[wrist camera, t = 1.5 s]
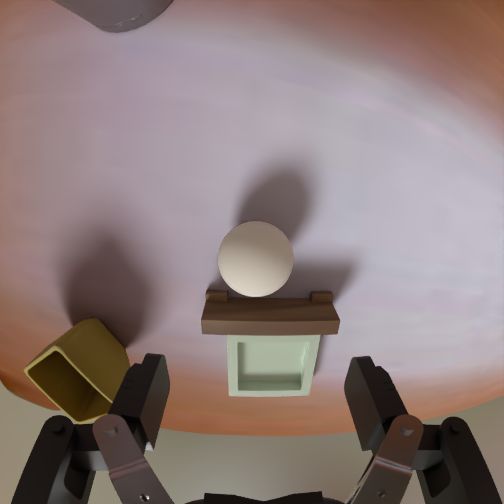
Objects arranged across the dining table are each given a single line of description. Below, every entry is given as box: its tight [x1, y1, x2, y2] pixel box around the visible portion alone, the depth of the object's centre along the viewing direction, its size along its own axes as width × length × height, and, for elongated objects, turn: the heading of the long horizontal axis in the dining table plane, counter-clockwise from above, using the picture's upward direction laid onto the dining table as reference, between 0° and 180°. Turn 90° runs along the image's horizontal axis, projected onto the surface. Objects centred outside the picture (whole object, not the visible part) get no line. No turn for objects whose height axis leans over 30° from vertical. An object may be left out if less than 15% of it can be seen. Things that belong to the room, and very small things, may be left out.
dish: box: [227, 335, 320, 397], centre depth 30 cm, size 9×9×2 cm
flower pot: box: [24, 318, 130, 424], centre depth 27 cm, size 9×9×9 cm
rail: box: [201, 290, 340, 336], centre depth 27 cm, size 3×12×4 cm, turn 89°
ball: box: [218, 221, 294, 297], centre depth 24 cm, size 6×6×6 cm
